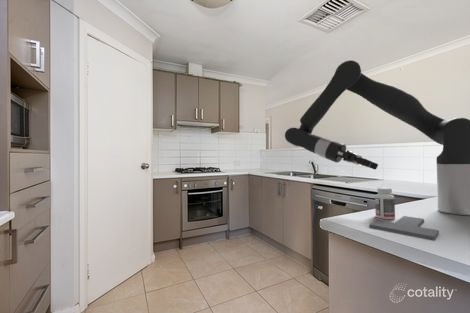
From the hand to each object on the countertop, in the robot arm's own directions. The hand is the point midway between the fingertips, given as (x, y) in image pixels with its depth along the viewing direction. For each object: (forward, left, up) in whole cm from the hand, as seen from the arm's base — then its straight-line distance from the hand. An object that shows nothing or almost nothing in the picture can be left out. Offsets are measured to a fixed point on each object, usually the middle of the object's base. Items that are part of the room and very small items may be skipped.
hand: (373, 165), depth 75 cm
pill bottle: (-1, +3, -17) cm, 18 cm away
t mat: (+4, +10, -17) cm, 20 cm away
